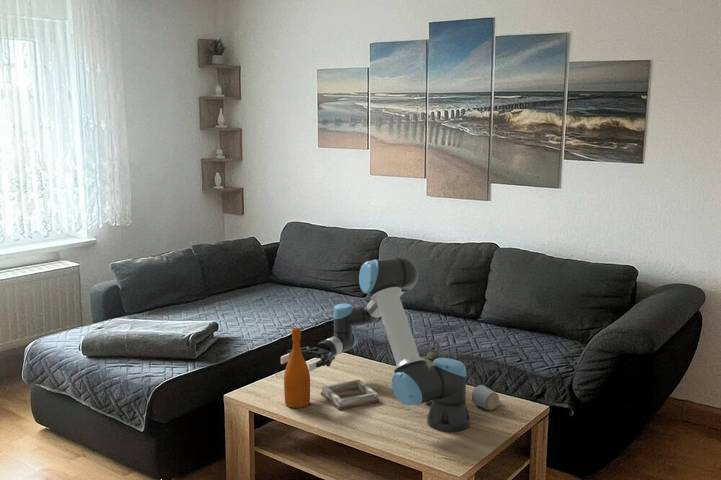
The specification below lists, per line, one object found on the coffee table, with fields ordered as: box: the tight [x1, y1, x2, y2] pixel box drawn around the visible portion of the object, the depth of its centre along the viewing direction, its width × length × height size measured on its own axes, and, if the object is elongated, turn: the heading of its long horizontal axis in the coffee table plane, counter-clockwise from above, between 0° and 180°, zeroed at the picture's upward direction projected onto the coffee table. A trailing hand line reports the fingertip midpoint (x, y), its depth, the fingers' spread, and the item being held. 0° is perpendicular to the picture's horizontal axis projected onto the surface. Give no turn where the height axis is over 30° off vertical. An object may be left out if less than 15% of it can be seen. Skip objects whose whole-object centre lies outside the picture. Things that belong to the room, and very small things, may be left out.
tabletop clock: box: [420, 339, 445, 405], centre depth 287 cm, size 14×9×25 cm, turn 30°
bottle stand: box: [320, 379, 380, 411], centre depth 294 cm, size 17×17×4 cm
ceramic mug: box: [471, 384, 502, 411], centre depth 286 cm, size 11×8×8 cm
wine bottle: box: [283, 327, 311, 409], centre depth 286 cm, size 10×10×30 cm
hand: (295, 364), depth 286 cm, fingers open, 13 cm apart
